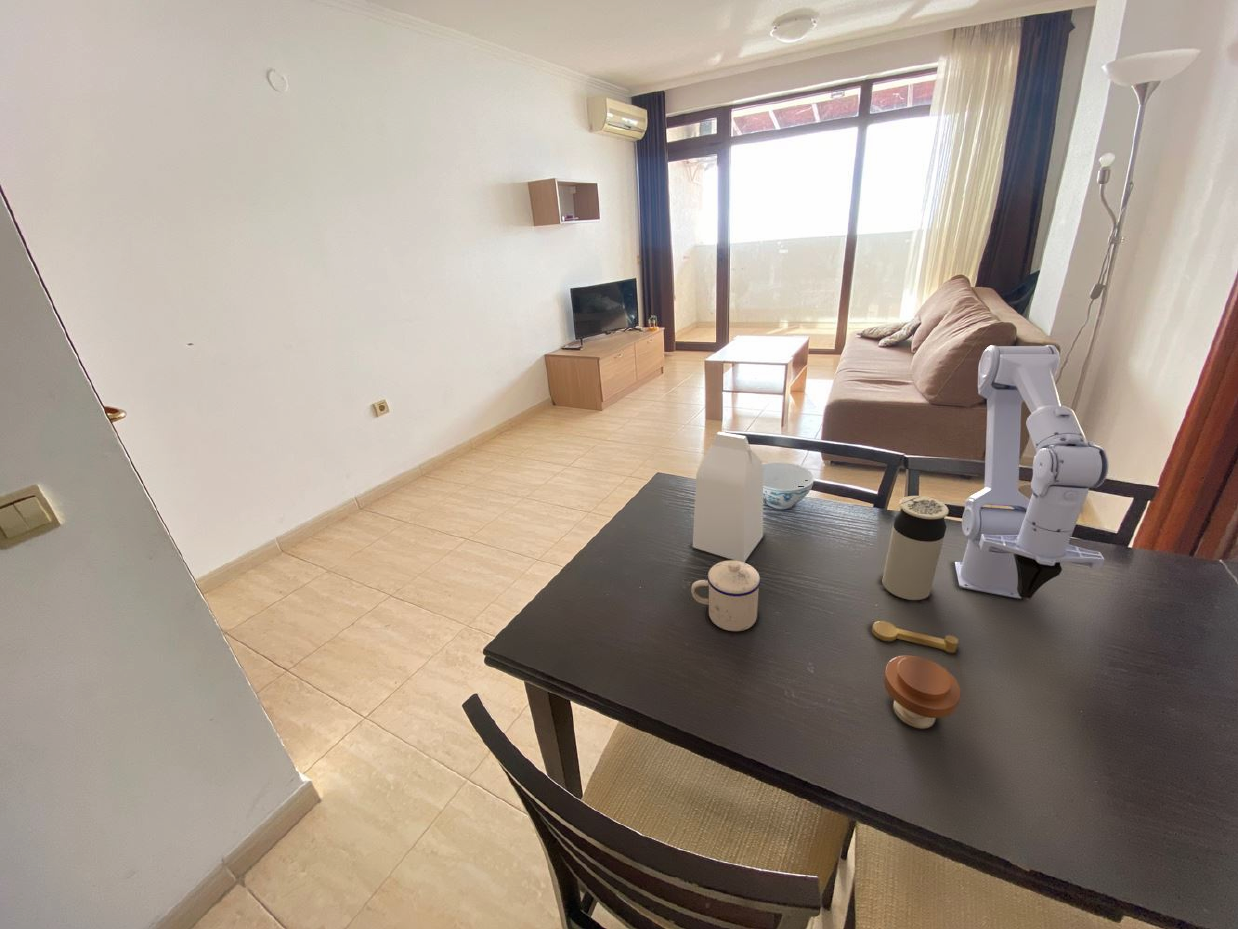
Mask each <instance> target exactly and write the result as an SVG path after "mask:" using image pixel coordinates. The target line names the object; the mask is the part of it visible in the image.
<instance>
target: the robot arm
mask: <svg viewBox="0 0 1238 929" xmlns="http://www.w3.org/2000/svg"><path fill="white" fill-rule="evenodd" d="M1060 361H1061V355H1060V352H1059V350H1058V348H1057V347H1056V346H1055V345H1052V344H1048V345H1047V344H1046V345H1015V346H1014V345H1011V346H1010V345H1007V346H1006V345H1002V346H1001V345H999V346H998V345H989V346H987V347H986V349H985V350H984V351H983V352H982V354H981V357H980V360H979V362H978V371H977V390H978V392H977V394H978V395H979V396H981V397H982V398H984V399H986V408H987V409H986V410H987V412H986V439H985V464H984V488H983V489H981V490H979V491H978V492H976V493H973V494H972V495H970V496H969V497H968V498H967V499H966V500H965V502H964V503H965V505H964V511H963V513H962V518H961V528H962V533H963V534H964V536H965V537H966V538H967V539H968V541H967V544H966V548H965V551H964V555H963V558H962V562H961V561H955V562H954V567H955V572H956V576H957V580H958V581H957V582H958V586H959V587H960V588H962V589H966V590H972V591H976V592H982V593H987V594H992V595H998V596H1003V597H1008V598H1014V599H1022V598H1024V599H1029V600H1030V599H1032V597H1033V596H1034V594H1036V592H1037V591H1038V590H1039V589H1040V588H1041V587H1042V586H1043V585H1045V584H1046V583H1047V582H1048V581H1050V580H1052V579H1054V578H1056V577H1059V576H1060V574H1061V573H1062V571H1063V567H1062V566H1061V563H1069V564H1075V565H1081V566H1088V567H1089V568H1090V569H1092V570H1097V571H1101V570H1102V568H1103V565H1104V563H1105V561H1106V559H1105V558H1104V557H1105V556H1103V555H1102V554H1103V553H1102V552H1101V551H1096V550H1091V549H1086V548H1082V547H1079V546H1076V545H1072V544H1069V543H1070V542H1071V541H1070V540H1071V538H1072V536H1073V533H1074V530H1075V527H1076V525H1077V522H1078V520H1079V518H1080V515H1081V512H1082V510H1083V506H1084V504H1085V502H1086V499H1087V497H1088V494H1089V491H1090V488H1093V489H1096V488H1099V487H1100V486H1102V485H1103V483H1104V482H1105V481H1106V479H1107V476H1108V473H1109V467H1110V466H1109V458H1108V456H1107V451H1106V449H1105V448H1104V447H1102V446H1100V445H1097V444H1095V442H1094V441H1092V440H1091V441H1090V440H1088V439H1087V438H1086V436H1085V434H1084V431H1083V429H1082V426H1081V425H1080V423H1079V420H1078V418H1077V415H1076V414H1075V411H1074V410H1073V409H1072V408H1070V407H1068V406H1064V405H1061V400H1060V397H1059V393H1058V390H1057V385H1056V382H1055V378H1056V375H1057V373H1058V371H1059V368H1060V364H1061V362H1060ZM1023 403H1025V405H1026V406H1027V409H1028V410H1029V412H1030V415H1029V416H1028V417H1027V419H1026V422H1025V425H1026V429H1027V432H1028V434H1029V437H1030V440H1031V443H1032V446H1033V448H1034V450H1035V455H1034V456H1033V461H1032V478H1031V482H1030V489H1031V490H1032V494H1031V496H1030V499H1029V497H1027V496H1026V495H1024V494H1023V493H1021V492H1020V491H1019V486H1020V484H1019V483H1020V458H1021V456H1020V454H1021V430H1022V428H1021V427H1022V426H1021V425H1022V404H1023ZM990 506H999V507H990ZM1003 507H1010V508H1003Z"/></svg>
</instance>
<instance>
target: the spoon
mask: <svg viewBox="0 0 1238 929" xmlns="http://www.w3.org/2000/svg"><path fill="white" fill-rule="evenodd" d="M871 632H872V634H873V635H874V636H875V637H876V638H877V639H879V640H881V641H884V642H894V641H895V640H896V639H898V640H902V641H905V642H911V643H914V644H918V645H923V646H926V647H932V648H935V649H940V650H944V651H946V652H947V653H949V654H950V653H951V654H952V653H953V654H954V653H955V652H956V651H957V648H958V644H959V639H958V638H957V637H956V636H954V635H952V634H951V635H950V634H949V635H945V637H944V638H940V637H937V636H932V635H927V634H923V633H919V632H915V631H910V630H906V629H901V628H897V627H896V626H895V624H893V623H891V622H889V621H885V620H877V621H875V622H874V623H873V624H872V628H871Z"/></svg>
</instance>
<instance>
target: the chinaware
mask: <svg viewBox="0 0 1238 929" xmlns="http://www.w3.org/2000/svg"><path fill="white" fill-rule="evenodd" d="M762 464H763V501H764V502H765V503H766V504H767V506H769V507H771V508H774V509H776V510H777V509H778V510H786V509H790V508H792V507H793V506H794V505H795V504H797V503H799V502H801V501H802V500H803V499H805V498H806V497H807V495H808V494H810V491H811V490H812V488H813V486H814V482H815V475H814V473H813V472H812V470H810V469H808V468H806V467H804V466H802V465H799V464H795V463H792V462H786V461H785V462H783V461H782V462H781V461H772V462H765V463H762ZM805 480H808V481H805ZM798 486H804V487H798Z"/></svg>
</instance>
